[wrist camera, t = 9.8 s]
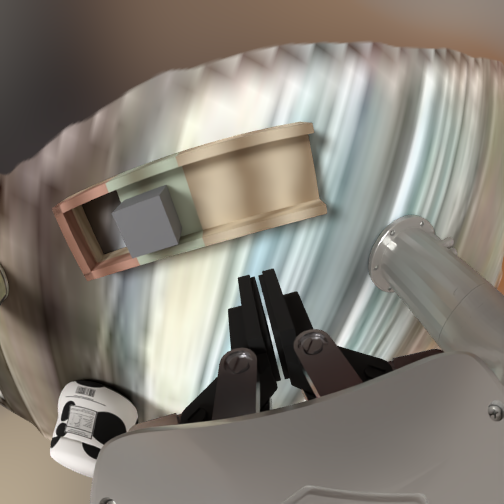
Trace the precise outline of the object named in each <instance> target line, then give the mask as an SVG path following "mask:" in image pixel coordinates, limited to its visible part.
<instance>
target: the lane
mask: <svg viewBox="0 0 504 504" xmlns="http://www.w3.org/2000/svg"><path fill="white" fill-rule="evenodd" d="M311 133H314V129H313V124H312V123H308V122H296V123H291V124H285V125H280V126H276V127H271V128H266V129H262V130H257V131H253V132H249V133H245V134H241V135H237V136H233V137H229V138H225V139H222V140H218V141H214V142H211V143H207V144H204V145H201V146H197V147H194V148H191V149H188V150H185V151H181V152H178V153H175V154H172V155H169V156H166V157H164V158H161V159H158V160H155V161H152V162H150V163H147V164H144V165H142V166H139V167H136V168H134V169H131V170H129V171H126V172H124V173H121V174H119V175H116V176H114V177H112V178H109V179H107V180H105V181H102V182H100V183H98V184H95V185H93V186H91V187H89V188H87V189H84V190H82V191H80V192H78V193H76V194H74V195H72V196H70V197H68V198H66V199H65V200H63V201H62V202H61V203H59V204H58V205H56V206H55V207H54V208H52V210H53V212H54V215H55V217H56V219H57V222H58V224H59V226H60V228H61V231H62V233H63V235H64V237H65V239H66V241H67V243H68V245H69V247H70V249H71V251H72V253H73V255H74V257H75V259H76V261H77V263H78V265H79V267H80V268H81V270H82V272H83V274H84V276H85V278H86V279H87V281H90V280H93V279H96V278H100V277H103V276H106V275H110V274H113V273H116V272H119V271H123V270H126V269H129V268H133V267H136V266H140V265H143V264H146V263H150V262H153V261H157V260H160V259H163V258H167V257H170V256H174V255H177V254H181V253H184V252H188V251H191V250H195V249H198V248H202V247H205V246H209V245H212V244H216V243H219V242H223V241H227V240H230V239H234V238H237V237H241V236H245V235H248V234H252V233H256V232H259V231H263V230H267V229H270V228H274V227H278V226H282V225H285V224H289V223H293V222H297V221H300V220H304V219H308V218H312V217H316V216H319V215H323V214H327V208H326V204H325V203H324V202H322V201H321V200H320V199H319V193H318V187H317V181H316V175H315V169H314V163H313V157H312V152H311V147H310V141H309V136H308V134H311ZM164 185H167V187H168V190H169V193H170V195H171V198H172V201H173V204H174V207H175V209H176V212H177V215H178V217H179V220H180V223H181V225H182V231H181V235H180V239H179V243H178V245H174V246H171V247H168V248H165V249H161V250H158V251H155V252H152V253H149V254H145V255H142V256H139V257H136V258H133V259H132V257H131V255H130V253H129V251H128V249H127V247H125V248H122V249H119V250H116V251H113V252H110V253H107V254H103V252H102V249H101V247H100V245H99V243H98V241H97V239H96V237H95V235H94V232H93V230H92V228H91V226H90V224H89V221H88V219H87V217H86V214H85V212H84V210H83V207H82V204H84V203H86V202H88V201H91V200H93V199H95V198H97V197H100V196H102V195H104V194H107V193H109V192H112V191H114V190H116V191H117V193H118V196H119V199H120V201H121V203H122V202H123V201H124V200H126V199H128V198H131V197H133V196H136V195H139V194H141V193H144V192H147V191H150V190H152V189H155V188H158V187H161V186H164Z"/></svg>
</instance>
